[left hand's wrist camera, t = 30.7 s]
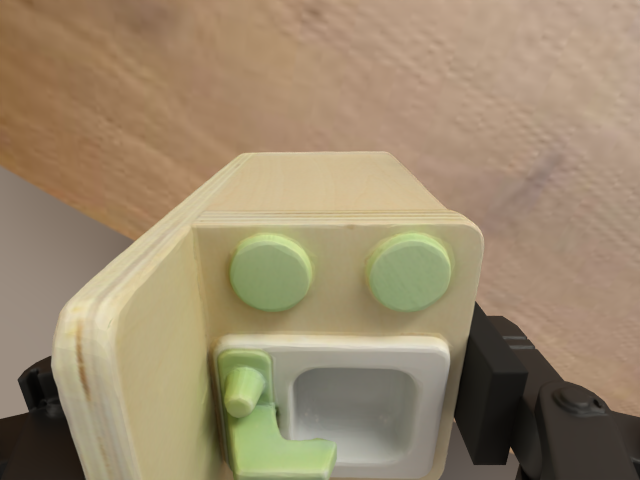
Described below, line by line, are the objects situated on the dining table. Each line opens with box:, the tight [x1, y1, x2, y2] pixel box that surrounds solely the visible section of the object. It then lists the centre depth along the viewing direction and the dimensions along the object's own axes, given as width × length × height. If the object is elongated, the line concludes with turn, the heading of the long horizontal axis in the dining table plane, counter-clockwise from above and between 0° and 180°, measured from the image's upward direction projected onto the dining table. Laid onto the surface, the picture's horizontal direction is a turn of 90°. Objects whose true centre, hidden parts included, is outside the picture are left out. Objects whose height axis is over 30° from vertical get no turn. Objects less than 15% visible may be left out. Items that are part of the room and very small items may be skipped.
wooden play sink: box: [51, 152, 484, 480], centre depth 12 cm, size 8×7×13 cm
